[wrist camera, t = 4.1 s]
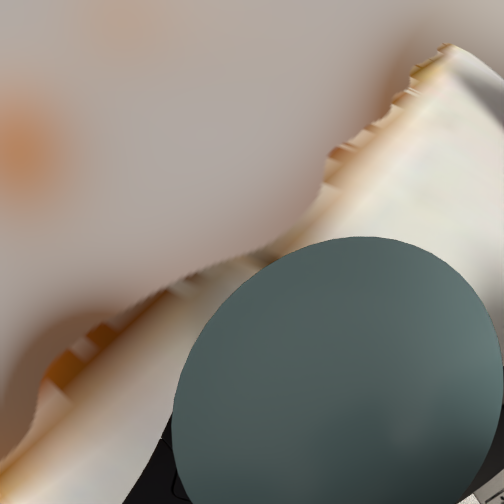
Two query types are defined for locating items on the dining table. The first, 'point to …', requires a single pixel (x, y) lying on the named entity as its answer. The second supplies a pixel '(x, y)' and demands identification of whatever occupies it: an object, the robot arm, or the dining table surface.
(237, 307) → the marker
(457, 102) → the dining table surface
